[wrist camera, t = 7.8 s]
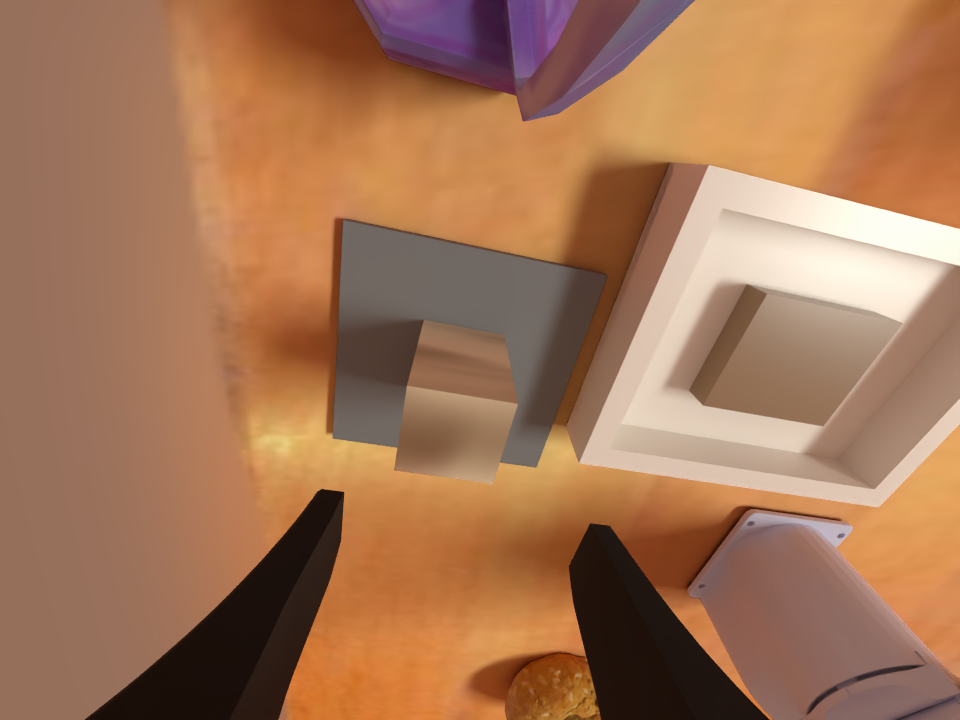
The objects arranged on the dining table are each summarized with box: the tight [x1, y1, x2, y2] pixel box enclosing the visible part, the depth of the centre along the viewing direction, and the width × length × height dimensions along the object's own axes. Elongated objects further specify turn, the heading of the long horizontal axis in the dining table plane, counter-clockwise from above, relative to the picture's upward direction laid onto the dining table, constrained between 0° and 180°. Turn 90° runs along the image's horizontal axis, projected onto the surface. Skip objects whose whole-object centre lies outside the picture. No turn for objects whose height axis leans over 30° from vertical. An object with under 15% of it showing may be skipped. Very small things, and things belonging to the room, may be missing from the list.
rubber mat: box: [333, 219, 607, 467], centre depth 20 cm, size 12×12×1 cm
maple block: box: [394, 320, 518, 484], centre depth 17 cm, size 4×4×6 cm
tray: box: [566, 163, 960, 507], centre depth 19 cm, size 14×18×3 cm
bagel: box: [505, 653, 601, 720], centre depth 35 cm, size 10×11×5 cm
